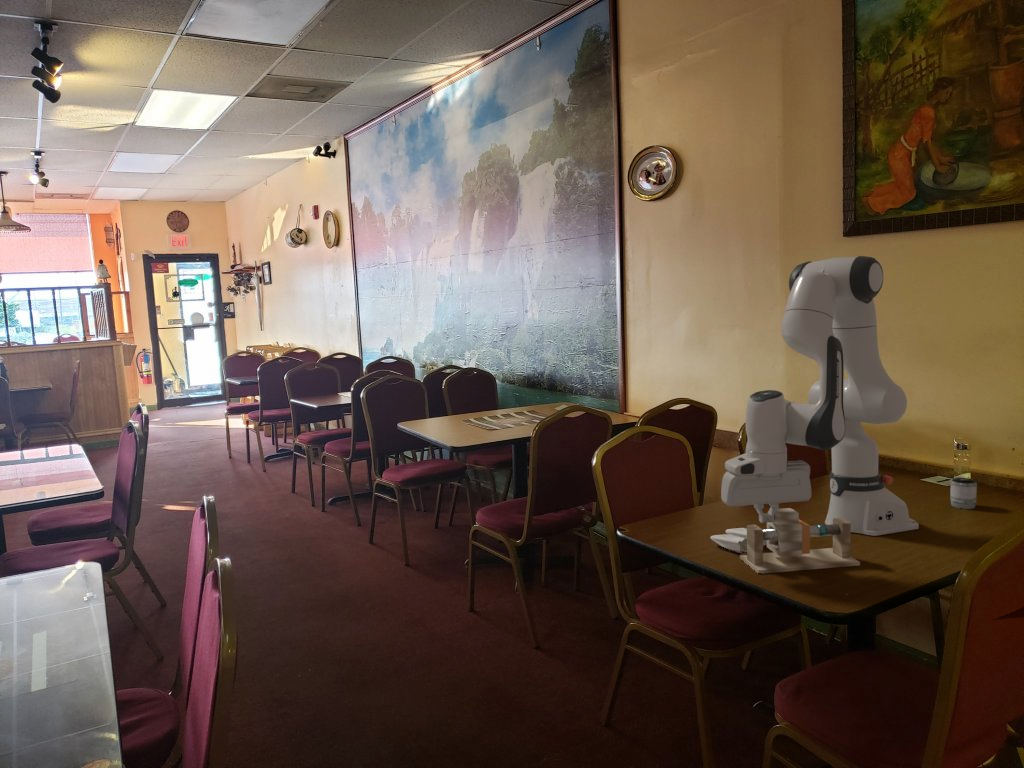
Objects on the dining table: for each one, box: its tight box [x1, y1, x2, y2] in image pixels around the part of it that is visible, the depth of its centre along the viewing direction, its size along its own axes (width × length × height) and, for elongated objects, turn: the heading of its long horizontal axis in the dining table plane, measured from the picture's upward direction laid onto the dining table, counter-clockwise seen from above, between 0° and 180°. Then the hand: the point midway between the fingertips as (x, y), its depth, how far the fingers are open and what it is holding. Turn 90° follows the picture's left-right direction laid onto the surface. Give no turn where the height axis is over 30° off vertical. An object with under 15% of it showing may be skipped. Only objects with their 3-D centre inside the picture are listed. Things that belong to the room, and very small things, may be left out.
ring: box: [799, 519, 811, 554], centre depth 167 cm, size 2×6×6 cm, turn 6°
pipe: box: [763, 524, 841, 541], centre depth 166 cm, size 19×3×3 cm, turn 96°
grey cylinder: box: [949, 477, 978, 510], centre depth 204 cm, size 6×6×8 cm
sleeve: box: [766, 507, 802, 557], centre depth 166 cm, size 5×7×10 cm
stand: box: [739, 518, 861, 574], centre depth 167 cm, size 24×10×9 cm, turn 96°
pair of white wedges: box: [710, 527, 767, 554], centre depth 180 cm, size 12×4×11 cm
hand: (766, 521), depth 165 cm, fingers closed
